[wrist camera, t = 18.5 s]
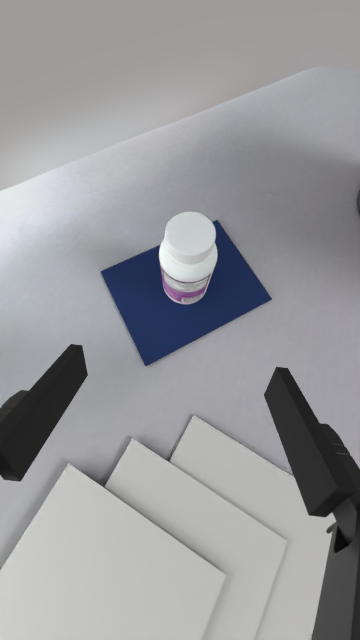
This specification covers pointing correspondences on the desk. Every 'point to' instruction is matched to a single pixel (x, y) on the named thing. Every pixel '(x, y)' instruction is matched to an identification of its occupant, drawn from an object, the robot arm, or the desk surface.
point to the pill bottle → (188, 256)
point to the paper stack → (169, 551)
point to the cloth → (174, 318)
